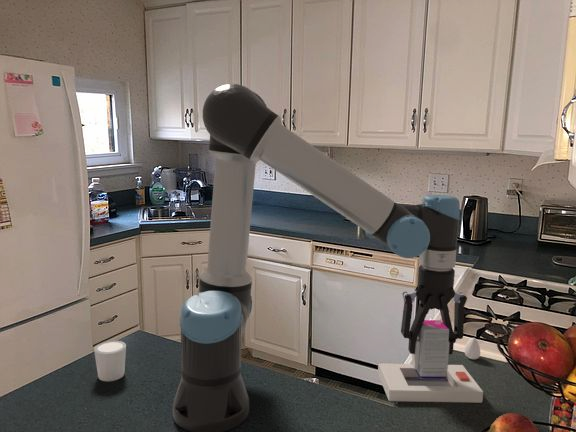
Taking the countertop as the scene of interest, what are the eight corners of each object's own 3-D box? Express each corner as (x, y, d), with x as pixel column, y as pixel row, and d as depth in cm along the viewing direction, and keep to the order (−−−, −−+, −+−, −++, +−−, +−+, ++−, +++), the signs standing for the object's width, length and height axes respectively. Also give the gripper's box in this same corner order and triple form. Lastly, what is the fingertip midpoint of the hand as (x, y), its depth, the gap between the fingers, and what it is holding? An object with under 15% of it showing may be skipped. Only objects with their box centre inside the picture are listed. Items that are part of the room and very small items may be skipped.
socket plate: (388, 401, 102) (389, 387, 101) (377, 373, 113) (378, 361, 113) (482, 402, 102) (483, 389, 101) (461, 374, 114) (462, 362, 113)
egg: (474, 354, 125) (476, 334, 124) (482, 361, 121) (484, 340, 120) (461, 355, 124) (463, 335, 123) (468, 361, 121) (470, 341, 120)
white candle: (133, 371, 112) (132, 343, 110) (112, 385, 105) (111, 355, 104) (110, 365, 114) (109, 338, 113) (88, 378, 108) (87, 349, 107)
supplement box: (447, 379, 104) (449, 329, 102) (420, 379, 104) (422, 329, 102) (438, 366, 110) (440, 319, 108) (412, 366, 110) (414, 319, 108)
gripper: (397, 270, 99) (391, 374, 103) (487, 272, 99) (477, 375, 103) (389, 261, 107) (383, 358, 110) (473, 262, 107) (464, 359, 111)
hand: (429, 366), depth 107 cm, fingers closed on supplement box, 6 cm apart
